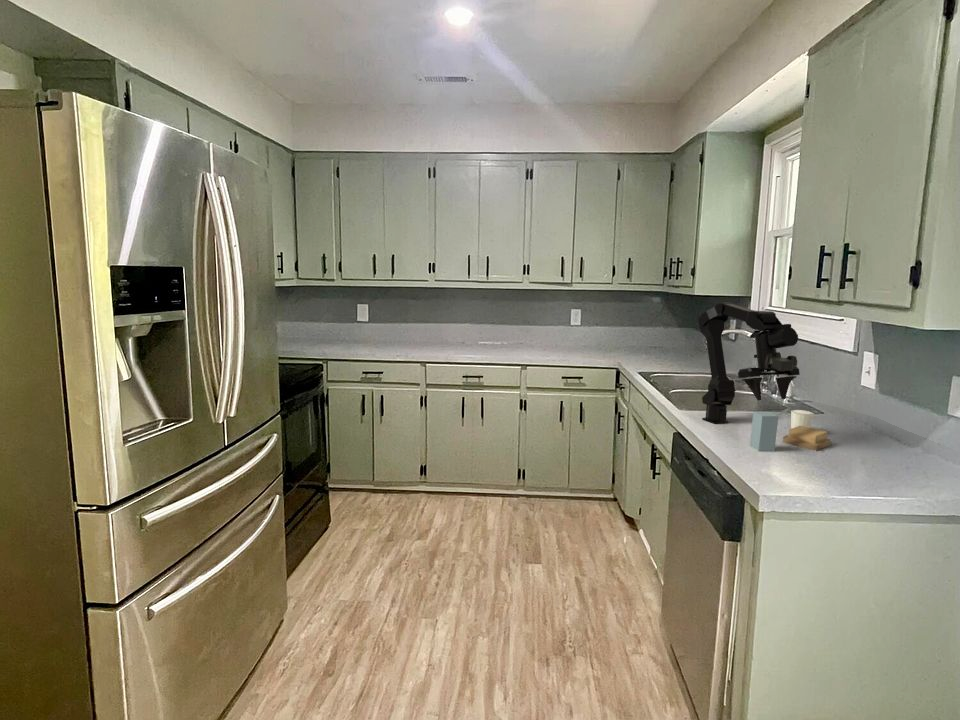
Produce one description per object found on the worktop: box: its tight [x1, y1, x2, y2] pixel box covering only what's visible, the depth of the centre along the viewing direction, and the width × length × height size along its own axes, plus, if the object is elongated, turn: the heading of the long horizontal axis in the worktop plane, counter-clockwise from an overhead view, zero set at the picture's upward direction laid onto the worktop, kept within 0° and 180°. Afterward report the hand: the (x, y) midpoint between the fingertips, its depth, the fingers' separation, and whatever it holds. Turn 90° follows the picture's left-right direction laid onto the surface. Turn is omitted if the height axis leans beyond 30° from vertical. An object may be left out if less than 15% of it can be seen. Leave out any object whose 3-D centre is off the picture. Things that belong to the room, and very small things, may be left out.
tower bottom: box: [782, 434, 832, 452], centre depth 181 cm, size 10×10×2 cm
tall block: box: [749, 411, 779, 452], centre depth 174 cm, size 5×5×11 cm
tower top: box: [787, 426, 828, 444], centre depth 180 cm, size 8×8×2 cm
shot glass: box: [790, 409, 815, 429], centre depth 193 cm, size 7×7×7 cm
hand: (771, 399), depth 179 cm, fingers open, 9 cm apart
